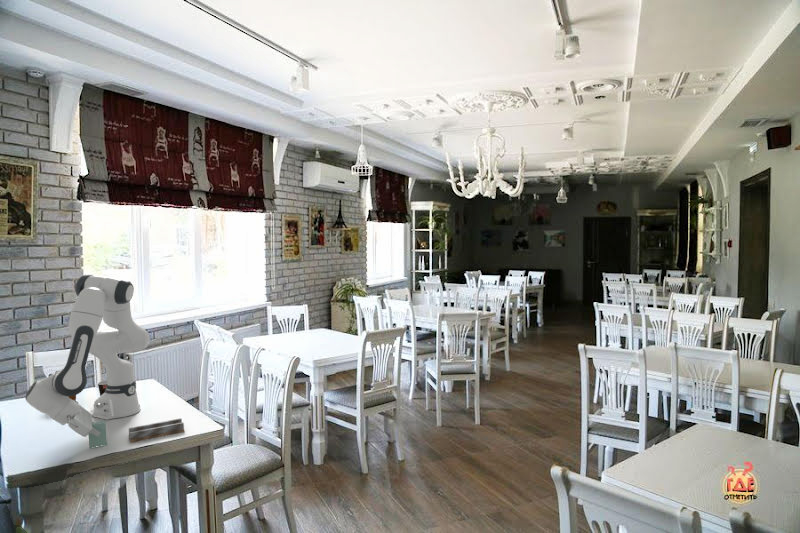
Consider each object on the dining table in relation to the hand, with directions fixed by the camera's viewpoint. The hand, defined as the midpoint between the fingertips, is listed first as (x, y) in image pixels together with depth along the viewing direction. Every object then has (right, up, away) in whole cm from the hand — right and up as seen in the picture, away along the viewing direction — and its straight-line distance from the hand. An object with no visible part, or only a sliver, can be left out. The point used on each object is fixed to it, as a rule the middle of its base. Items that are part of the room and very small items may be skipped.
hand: (99, 432), depth 207 cm
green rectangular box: (0, -5, 0) cm, 5 cm away
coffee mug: (-26, -3, +53) cm, 60 cm away
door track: (+18, -4, +11) cm, 21 cm away
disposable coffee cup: (-44, -3, +51) cm, 67 cm away
